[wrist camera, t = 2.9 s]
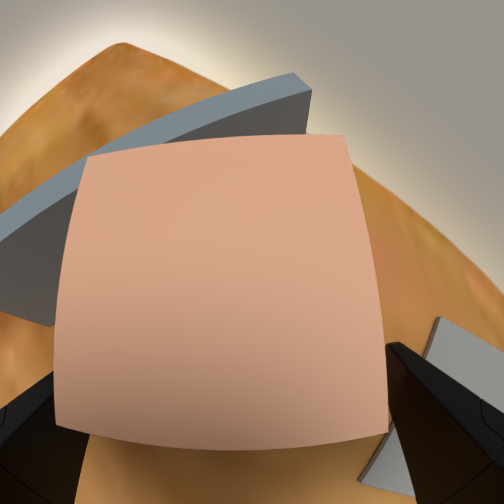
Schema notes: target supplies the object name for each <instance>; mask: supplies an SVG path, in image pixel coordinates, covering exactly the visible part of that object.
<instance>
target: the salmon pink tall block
mask: <svg viewBox="0 0 504 504" xmlns="http://www.w3.org/2000/svg"><path fill="white" fill-rule="evenodd" d="M54 402H55V417H56V425H59V426H62V427H65V428H69V429H73V430H76V431H80V432H84V433H88V434H93V435H97V436H102V437H106V438H111V439H117V440H122V441H128V442H134V443H140V444H147V445H155V446H163V447H173V448H185V449H200V450H270V449H285V448H297V447H307V446H315V445H323V444H330V443H337V442H343V441H349V440H354V439H359V438H364V437H369V436H374V435H378V434H383V433H387V432H388V389H387V370H386V356H385V344H384V334H383V325H382V316H381V308H380V300H379V293H378V286H377V280H376V274H375V268H374V262H373V256H372V251H371V245H370V240H369V235H368V230H367V225H366V221H365V216H364V212H363V207H362V203H361V199H360V195H359V190H358V186H357V183H356V179H355V175H354V171H353V167H352V164H351V160H350V156H349V153H348V150H347V146H346V143H345V140H344V136H343V135H311V134H298V135H258V136H239V137H224V138H212V139H201V140H191V141H182V142H174V143H166V144H159V145H152V146H145V147H139V148H132V149H127V150H121V151H115V152H110V153H105V154H100V155H95V156H90V157H88V158H87V161H86V164H85V167H84V171H83V174H82V177H81V181H80V184H79V188H78V192H77V195H76V199H75V203H74V207H73V211H72V215H71V220H70V224H69V229H68V234H67V239H66V244H65V249H64V255H63V261H62V267H61V274H60V281H59V289H58V297H57V307H56V319H55V334H54Z"/></svg>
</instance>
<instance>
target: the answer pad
mask: <svg viewBox="0 0 504 504" xmlns="http://www.w3.org/2000/svg"><path fill="white" fill-rule="evenodd" d="M423 358H424V359H426V360H427V361H428V362H430V363H431V364H433V365H434V366H436V367H437V368H439V369H440V370H442V371H443V372H444V373H446V374H447V375H449V376H450V377H452V378H453V379H455V380H456V381H457V382H459V383H460V384H462V385H463V386H465V387H466V388H468V389H469V390H470V391H472V392H473V393H475V394H476V395H478V396H479V397H480V399H481V398H482V399H484V400H485V401H486V402H488V403H489V404H491V405H492V406H494V407H495V408H497V409H498V410H500V411H501V412H503V413H504V353H503V352H502V351H500V350H498V349H497V348H495V347H493V346H492V345H490V344H488V343H486V342H485V341H483V340H481V339H480V338H478V337H476V336H475V335H473V334H471V333H469V332H468V331H466V330H464V329H462V328H461V327H459V326H457V325H455V324H454V323H452V322H450V321H448V320H447V319H445V318H443V317H441V316H440V317H437V318H436V321H435V324H434V327H433V330H432V333H431V336H430V338H429V341H428V344H427V347H426V349H425V352H424V355H423ZM358 481H359V482H360V483H362V484H365V485H368V486H372V487H376V488H379V489H383V490H387V491H391V492H395V493H399V494H403V495H408V496H413V497H415V493H414V490H413V486H412V482H411V479H410V475H409V471H408V468H407V464H406V461H405V458H404V454H403V451H402V448H401V444H400V441H399V438H398V435H397V432H396V429H395V426H394V422H393V423H392V425H391V426H390V428H389V430H388V432H387V434H386V436H385V437H384V439H383V441H382V443H381V444H380V446H379V448H378V449H377V451H376V453H375V454H374V456H373V458H372V459H371V461H370V463H369V464H368V466H367V467H366V469H365V470H364V472H363V473H362V475H361V476H360V478H359V479H358Z"/></svg>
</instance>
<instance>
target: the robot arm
mask: <svg viewBox="0 0 504 504" xmlns="http://www.w3.org/2000/svg"><path fill="white" fill-rule="evenodd" d="M385 356H386V370H387V389H388V406H389V410H390V413H391V416H392V419H393V422H394V426H395V429H396V432H397V435H398V438H399V441H400V444H401V448H402V451H403V454H404V458H405V461H406V464H407V468H408V471H409V475H410V479H411V482H412V486H413V490H414V493H415V497H416V501H417V504H504V413H503V412H501V411H500V410H498V409H497V408H495V407H494V406H492V405H491V404H489V403H488V402H486V401H485V400H484V399H482V398H481V399H480V397H479V396H478V395H476V394H475V393H473V392H472V391H470V390H469V389H468V388H466V387H465V386H463V385H462V384H460V383H459V382H457V381H456V380H455V379H453V378H452V377H450V376H449V375H447V374H446V373H444V372H443V371H442V370H440V369H439V368H437V367H436V366H434V365H433V364H431V363H430V362H428V361H427V360H426V359H424V358H423V357H421V356H420V355H418V354H417V353H415V352H414V351H412V350H411V349H409V348H408V347H407V346H405V345H404V344H402V343H401V342H391V343H387V344H386V346H385ZM89 436H90V434H88V433H84V432H80V431H76V430H73V429H69V428H65V427H62V426H59V425H56V417H55V402H54V371H52V372H51V373H50V374H48V375H47V376H45V377H44V378H43V379H41V380H40V381H39V382H37V383H36V384H34V385H33V386H32V387H30V388H29V389H27V390H26V391H25V392H23V393H22V394H20V395H19V396H18V397H16V398H15V399H14V400H12V401H11V402H9V403H8V404H7V405H5V406H4V407H3V408H1V409H0V504H74V502H75V497H76V492H77V487H78V482H79V477H80V473H81V468H82V464H83V460H84V456H85V451H86V447H87V444H88V440H89Z"/></svg>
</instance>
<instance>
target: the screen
mask: <svg viewBox="0 0 504 504" xmlns="http://www.w3.org/2000/svg"><path fill="white" fill-rule="evenodd" d="M311 94H312V89H311V88H310V87H309V86H307V84H306V83H305V82H303V81H302V80H301V79H300V78H299V77H298V76H297V75H296V74H294V73H293V72H292V73H288V74H285V75H281V76H277V77H273V78H270V79H266V80H263V81H259V82H256V83H253V84H249V85H246V86H243V87H240V88H237V89H234V90H231V91H228V92H225V93H222V94H219V95H216V96H213V97H211V98H208V99H205V100H203V101H200V102H197V103H195V104H192V105H190V106H187V107H185V108H182V109H180V110H178V111H175V112H173V113H170V114H168V115H166V116H164V117H161V118H159V119H157V120H155V121H152V122H150V123H148V124H146V125H144V126H142V127H140V128H138V129H136V130H134V131H131V132H129V133H127V134H125V135H124V136H122V137H120V138H118V139H116V140H114V141H112V142H110V143H108V144H106V145H105V146H103V147H101V148H99V149H97V150H96V151H94V152H92V153H90V154H89V155H87V156H85V157H83V158H82V159H80V160H78V161H77V162H75V163H73V164H72V165H70V166H68V167H67V168H65V169H64V170H62V171H61V172H59V173H57V174H56V175H54V176H53V177H51V178H50V179H48V180H47V181H45V182H44V183H42V184H41V185H39V186H38V187H37V188H35V189H34V190H32V191H31V192H30V193H28V194H27V195H25V196H24V197H23V198H21V199H20V200H19V201H17V202H16V203H15V204H13V205H12V206H11V207H9V208H8V209H7V210H6V211H4V212H3V213H2V214H1V215H0V311H2V312H4V313H7V314H10V315H13V316H16V317H19V318H22V319H26V320H29V321H32V322H35V323H39V324H42V325H45V326H51V325H53V324H55V319H56V307H57V297H58V289H59V281H60V274H61V267H62V261H63V255H64V249H65V244H66V239H67V234H68V229H69V224H70V220H71V215H72V211H73V207H74V203H75V199H76V195H77V192H78V188H79V184H80V181H81V177H82V174H83V171H84V167H85V164H86V161H87V158H88V157H90V156H95V155H100V154H105V153H110V152H115V151H121V150H127V149H132V148H139V147H145V146H152V145H159V144H166V143H174V142H182V141H191V140H201V139H212V138H224V137H239V136H258V135H298V134H305V133H306V127H307V120H308V113H309V106H310V100H311Z"/></svg>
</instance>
